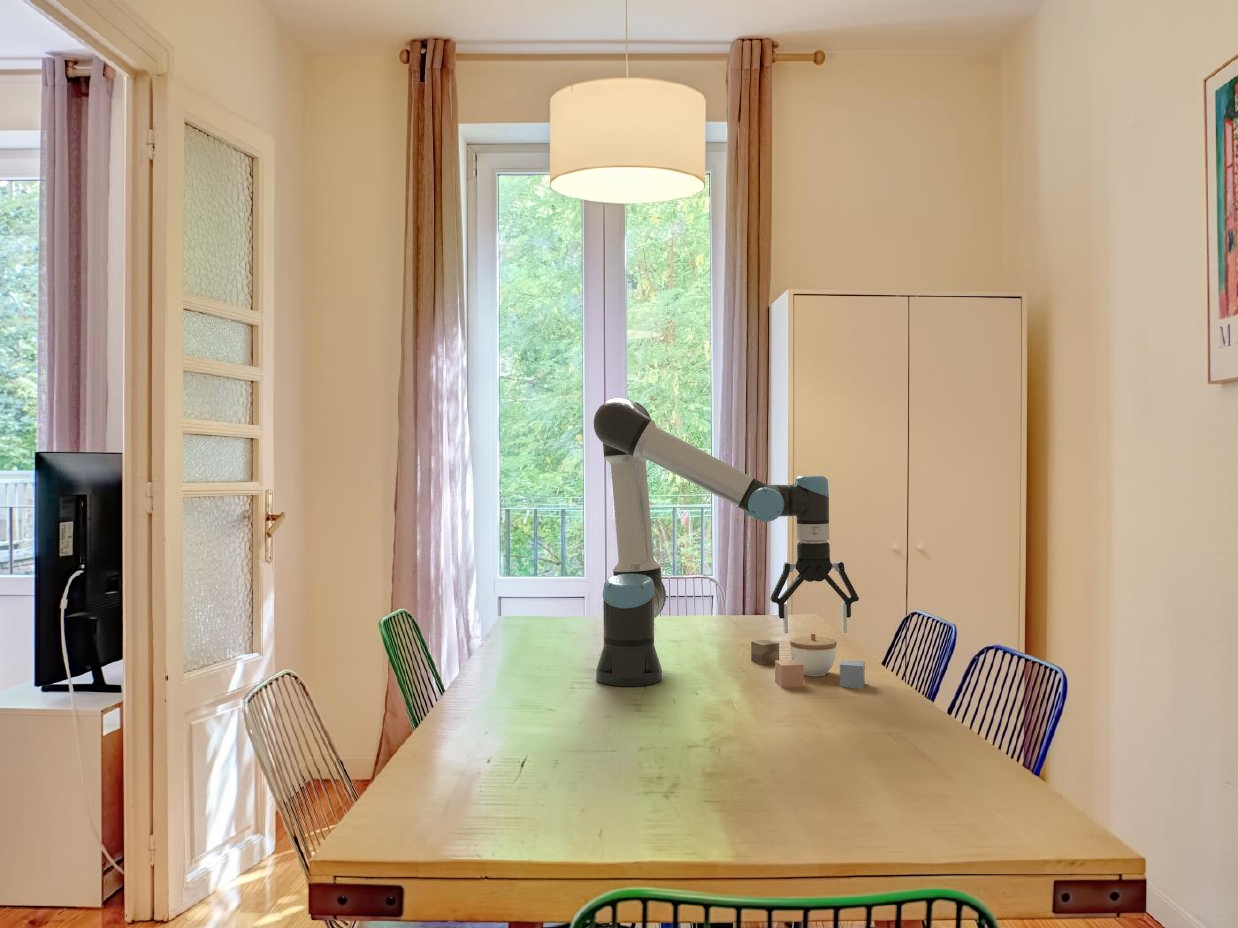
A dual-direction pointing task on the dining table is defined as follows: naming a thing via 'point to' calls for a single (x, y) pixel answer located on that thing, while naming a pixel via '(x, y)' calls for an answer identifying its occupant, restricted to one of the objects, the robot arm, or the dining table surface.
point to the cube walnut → (764, 652)
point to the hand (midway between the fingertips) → (814, 632)
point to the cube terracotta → (789, 673)
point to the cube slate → (852, 674)
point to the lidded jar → (814, 654)
